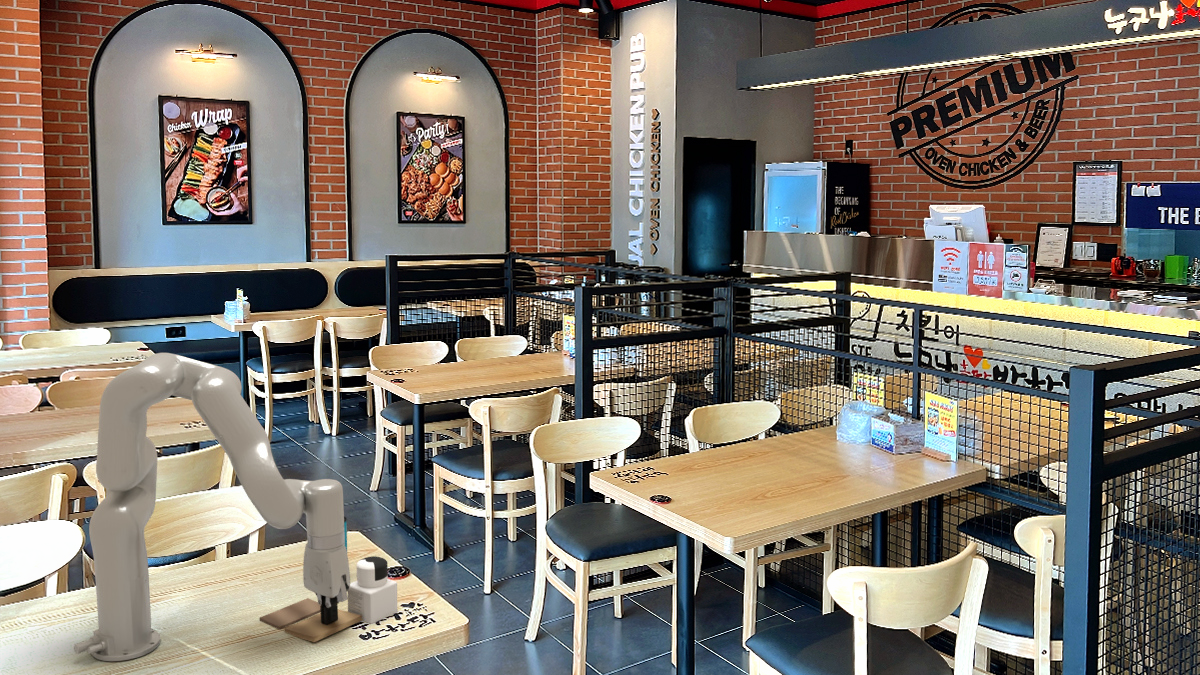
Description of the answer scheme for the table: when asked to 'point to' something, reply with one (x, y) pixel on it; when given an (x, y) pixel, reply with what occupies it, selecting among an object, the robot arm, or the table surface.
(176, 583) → the table surface
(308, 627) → the oak plank
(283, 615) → the laid walnut plank
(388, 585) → the container
